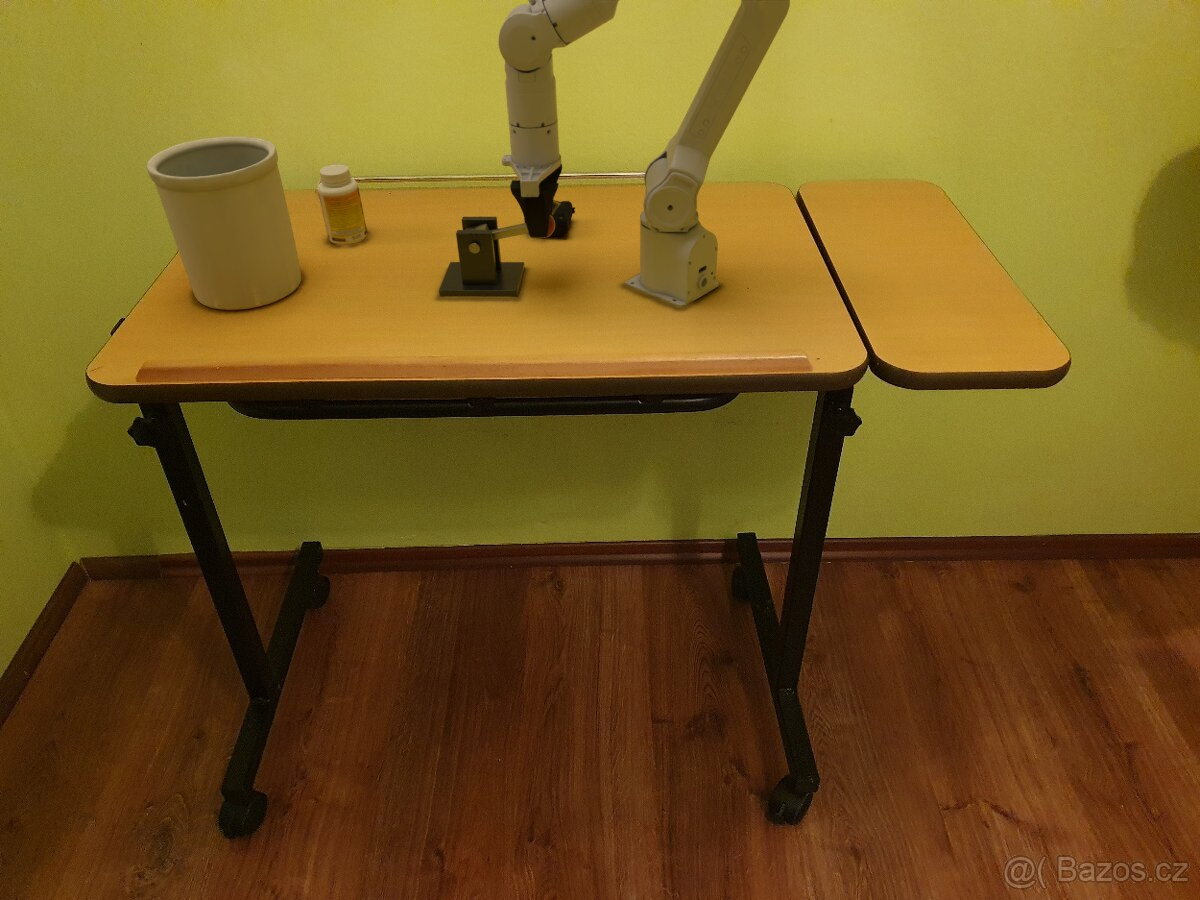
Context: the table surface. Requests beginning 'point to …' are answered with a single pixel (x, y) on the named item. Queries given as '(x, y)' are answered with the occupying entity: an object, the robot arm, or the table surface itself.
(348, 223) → the supplement bottle
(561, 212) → the tape measure
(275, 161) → the utensil holder
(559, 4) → the robot arm
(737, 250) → the table surface
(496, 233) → the lever
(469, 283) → the switch bracket
